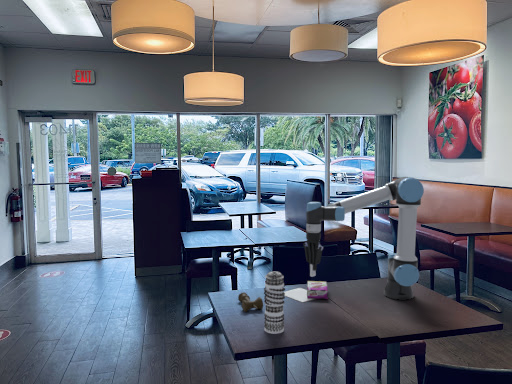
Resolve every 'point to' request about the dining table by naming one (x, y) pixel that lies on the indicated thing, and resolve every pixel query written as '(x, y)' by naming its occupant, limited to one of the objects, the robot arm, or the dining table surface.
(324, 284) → the candy bar box
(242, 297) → the kendama
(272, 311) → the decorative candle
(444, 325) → the dining table surface
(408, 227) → the robot arm
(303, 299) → the mat
